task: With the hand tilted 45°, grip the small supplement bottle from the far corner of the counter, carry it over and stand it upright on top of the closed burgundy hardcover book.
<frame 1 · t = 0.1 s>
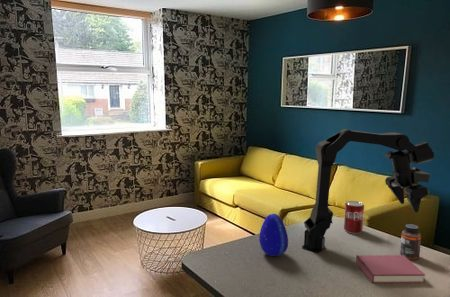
hand: (409, 207, 122), 15 cm above the counter, tool pointing down, fingers open, 9 cm apart
supplement bottle: (409, 257, 117), on the counter
soda can: (352, 231, 139), on the counter
ornament: (272, 254, 119), on the counter
hardcover book: (388, 273, 107), on the counter
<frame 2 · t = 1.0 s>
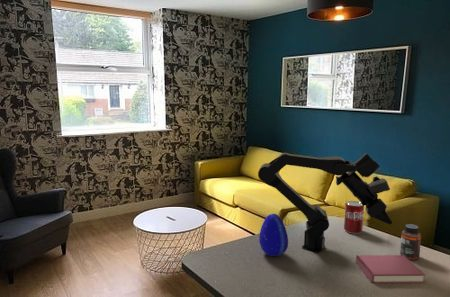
hand: (387, 218, 117), 13 cm above the counter, tool tilted 45°, fingers open, 9 cm apart
nothing on the counter moved.
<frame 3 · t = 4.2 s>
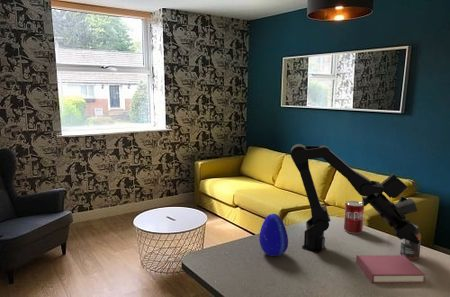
hand: (415, 239, 116), 7 cm above the counter, tool tilted 45°, fingers closed on supplement bottle, 6 cm apart
supplement bottle: (409, 257, 117), on the counter, touching gripper
everything else where it was.
when the fingers open (11 cm above the counter, at t = 8.3 s): supplement bottle stays where it is, resting on hardcover book.
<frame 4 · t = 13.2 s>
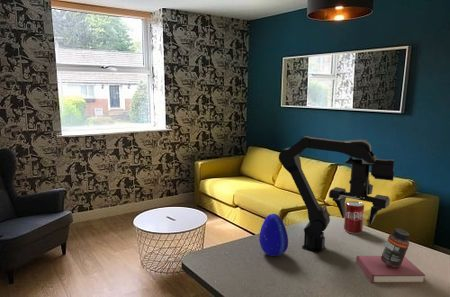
hand: (356, 221, 115), 13 cm above the counter, tool pointing down, fingers open, 9 cm apart
supplement bottle: (389, 263, 106), point 3 cm above the counter, touching hardcover book
hardcover book: (388, 273, 107), on the counter, touching supplement bottle
everything else where it was.
at the end: supplement bottle inside the target area on the hardcover book (0.2 cm from its centre), point 3.5 cm above the hardcover book's base; supplement bottle tilted 14°; the gripper is holding nothing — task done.
